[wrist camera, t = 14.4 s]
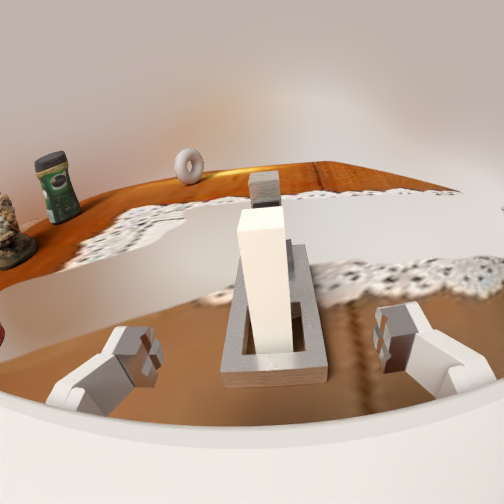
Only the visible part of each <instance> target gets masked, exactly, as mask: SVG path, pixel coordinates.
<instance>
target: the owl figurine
mask: <svg viewBox="0 0 504 504" xmlns="http://www.w3.org/2000/svg"><path fill="white" fill-rule="evenodd" d="M14 213H15V209H14V208H13V207H12V203H11V200H9V197H8V196H7V195H6V194H3V195H1V193H0V270H7V269H8V268H12V267H13V266H15V265H17V264H18V263H20V262H23V261H25V260H28V259H29V258H31V257H32V256H33V255H34V253H35V251H36V250H37V248H38V244H37V241H36V240H35V239H33V238H31V237H30V236H29V235H27V234H24V235H23V233H21V231H20V230H19V226H18V223H17V220H16V216H15V214H14ZM33 245H34V246H33Z"/></svg>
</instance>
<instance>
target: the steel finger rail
mask: <svg viewBox="0 0 504 504" xmlns="http://www.w3.org/2000/svg"><path fill="white" fill-rule="evenodd" d="M248 184H249V192H250V199H251V207H252V209H256V208H266V207H278V206H281V195H280V185H279V175H278V171H267V172H257V173H251V174H250V178H249V182H248ZM286 251H287V264H288V278H289V292H290V307H291V319H296V318H301V324H302V333H303V343H304V351H302V352H290V353H275V354H257V355H247V344H248V333H249V322H251V318H250V312H249V306H248V299H247V293H246V287H245V281H244V274H243V268H242V261H241V255H240V260H239V265H238V271H237V277H236V282H235V288H234V293H233V299H232V305H231V311H230V316H229V322H228V328H227V334H226V339H225V345H224V351H223V357H222V363H221V369H220V374H221V377H222V381H223V384H224V387H225V388H249V387H274V386H290V385H303V384H315V383H325V382H327V371H328V364H327V358H326V352H325V346H324V340H323V335H322V329H321V324H320V318H319V313H318V308H317V302H316V297H315V292H314V287H313V282H312V277H311V272H310V267H309V263H308V258H307V253H306V248H305V245H292V244H291V239H289V240H286Z"/></svg>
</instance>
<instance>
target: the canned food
mask: <svg viewBox="0 0 504 504" xmlns="http://www.w3.org/2000/svg"><path fill="white" fill-rule="evenodd" d="M4 337H5V331H4V328H3V327H2V325H1V324H0V346H1V344H2V343H3V340H4Z"/></svg>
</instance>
